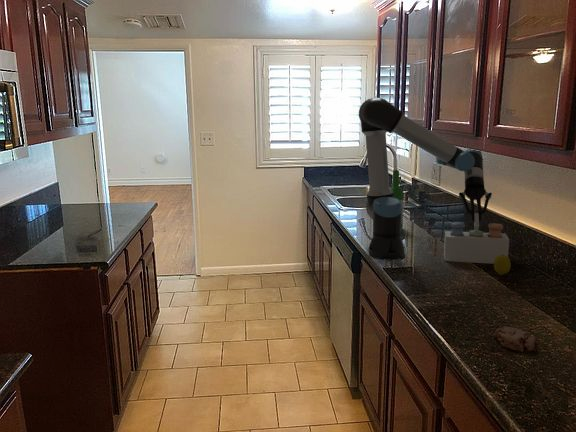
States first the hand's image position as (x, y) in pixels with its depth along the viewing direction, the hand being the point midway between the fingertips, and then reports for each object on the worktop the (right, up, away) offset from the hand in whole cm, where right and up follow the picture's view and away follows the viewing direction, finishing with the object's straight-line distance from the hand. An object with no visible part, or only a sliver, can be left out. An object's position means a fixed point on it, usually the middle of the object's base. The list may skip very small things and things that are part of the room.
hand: (476, 228), depth 182 cm
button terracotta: (+7, -5, -1) cm, 8 cm away
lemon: (+2, -17, -16) cm, 23 cm away
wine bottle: (-20, -2, +52) cm, 56 cm away
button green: (0, -8, +1) cm, 8 cm away
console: (0, -12, +3) cm, 13 cm away
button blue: (-7, -4, +3) cm, 9 cm away
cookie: (-16, -28, -62) cm, 70 cm away
